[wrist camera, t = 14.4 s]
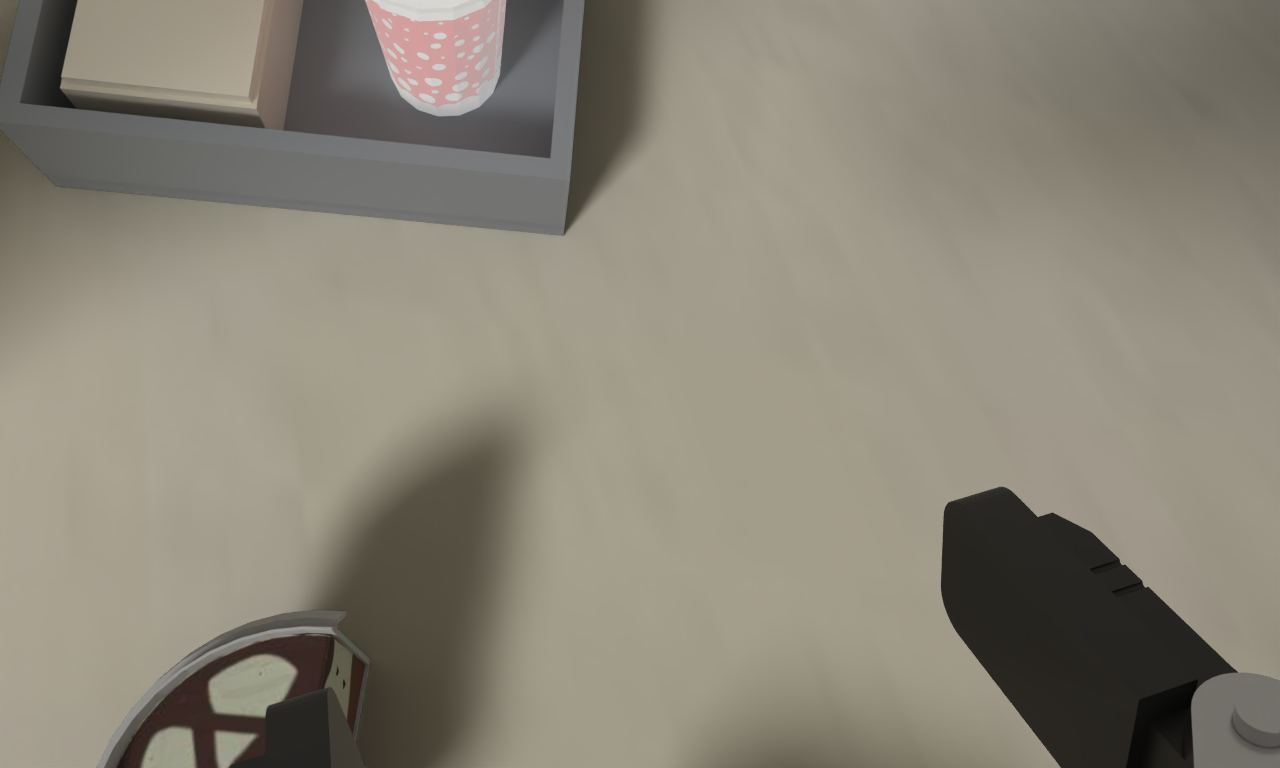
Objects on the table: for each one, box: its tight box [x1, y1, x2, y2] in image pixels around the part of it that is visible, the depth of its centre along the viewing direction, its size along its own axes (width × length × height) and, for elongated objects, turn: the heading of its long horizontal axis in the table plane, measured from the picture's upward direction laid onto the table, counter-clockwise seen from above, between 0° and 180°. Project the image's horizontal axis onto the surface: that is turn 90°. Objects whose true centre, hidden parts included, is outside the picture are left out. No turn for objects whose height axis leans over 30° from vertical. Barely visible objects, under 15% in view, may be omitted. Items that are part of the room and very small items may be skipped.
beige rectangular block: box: [60, 0, 304, 131], centre depth 42 cm, size 7×10×4 cm
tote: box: [0, 0, 585, 236], centre depth 43 cm, size 21×14×6 cm, turn 87°
